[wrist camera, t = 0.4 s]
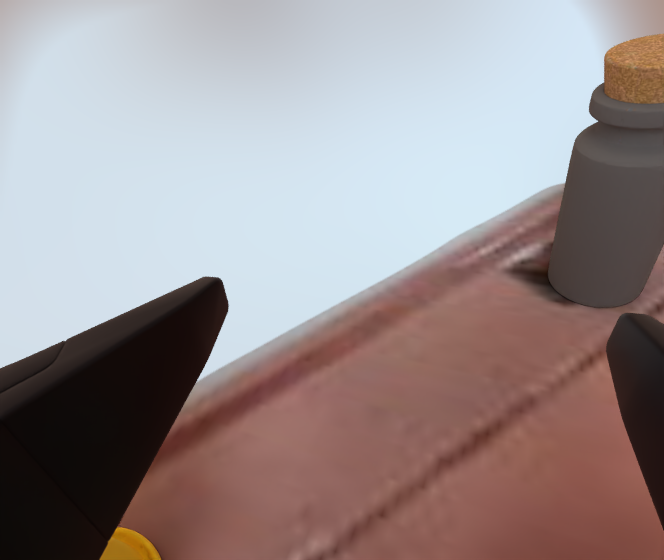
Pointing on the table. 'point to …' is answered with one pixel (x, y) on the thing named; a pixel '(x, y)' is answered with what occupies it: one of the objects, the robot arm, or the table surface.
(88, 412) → the robot arm
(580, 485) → the table surface
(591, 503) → the table surface
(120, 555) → the stacking cups
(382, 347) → the table surface
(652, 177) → the bottle
